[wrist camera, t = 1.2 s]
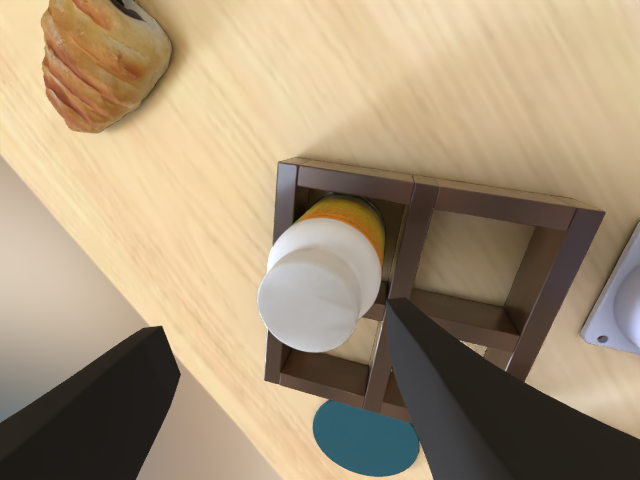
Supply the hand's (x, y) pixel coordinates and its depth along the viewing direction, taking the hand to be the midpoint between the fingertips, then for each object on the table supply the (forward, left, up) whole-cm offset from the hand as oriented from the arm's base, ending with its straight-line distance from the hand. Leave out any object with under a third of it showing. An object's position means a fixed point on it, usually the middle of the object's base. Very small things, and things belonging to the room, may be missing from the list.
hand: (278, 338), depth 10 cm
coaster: (-5, +18, -12) cm, 22 cm away
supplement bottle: (0, 0, -12) cm, 12 cm away
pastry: (+16, -9, -12) cm, 22 cm away
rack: (-4, +4, -12) cm, 13 cm away
